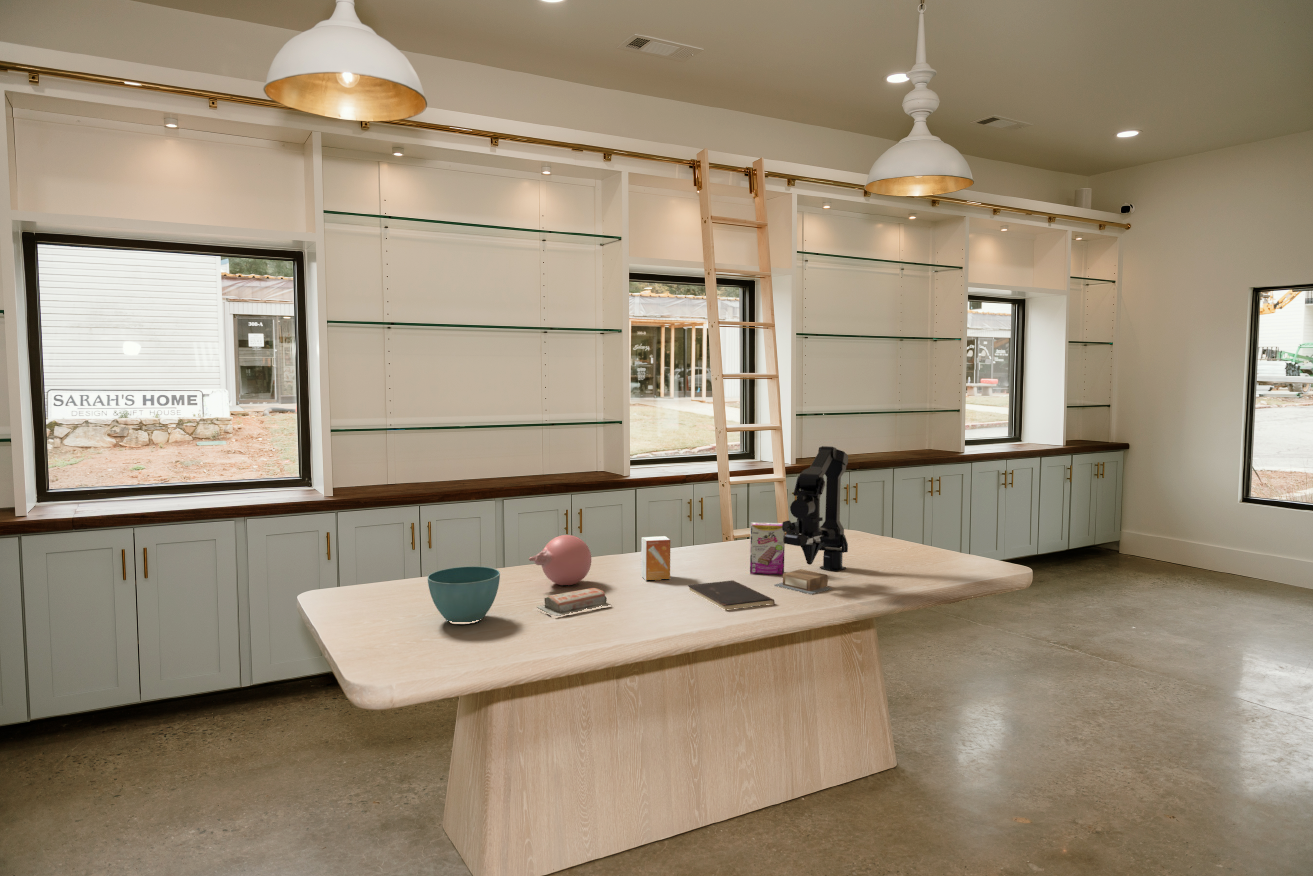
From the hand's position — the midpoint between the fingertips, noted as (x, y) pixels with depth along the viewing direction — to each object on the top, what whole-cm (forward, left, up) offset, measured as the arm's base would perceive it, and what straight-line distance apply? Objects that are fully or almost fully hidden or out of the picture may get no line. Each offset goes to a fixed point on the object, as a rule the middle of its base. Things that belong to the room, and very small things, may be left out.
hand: (809, 564), depth 237 cm
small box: (+29, -38, -7) cm, 48 cm away
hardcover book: (+28, -7, -7) cm, 30 cm away
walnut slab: (-3, 0, -4) cm, 5 cm away
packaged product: (+68, -28, -7) cm, 74 cm away
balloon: (+57, -51, -7) cm, 77 cm away
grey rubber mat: (+3, 0, -7) cm, 7 cm away
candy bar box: (-3, -19, -7) cm, 20 cm away
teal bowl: (+96, -38, -7) cm, 104 cm away
